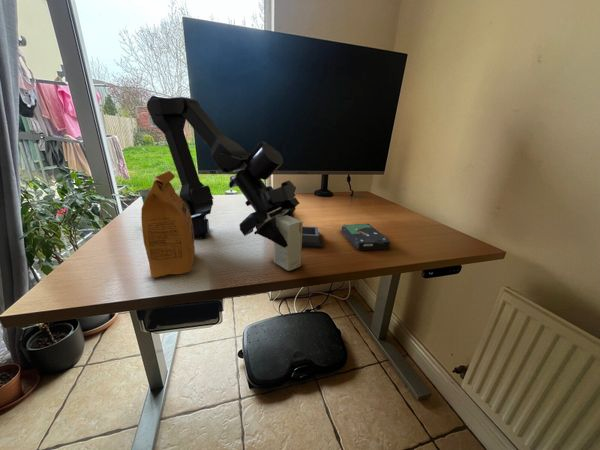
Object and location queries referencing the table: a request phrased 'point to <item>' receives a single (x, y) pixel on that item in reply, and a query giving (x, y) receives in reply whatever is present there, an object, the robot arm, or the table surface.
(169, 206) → the coffee package
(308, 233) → the dock pad
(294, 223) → the cosmetic box
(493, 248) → the table surface
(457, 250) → the table surface
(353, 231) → the disk drive
